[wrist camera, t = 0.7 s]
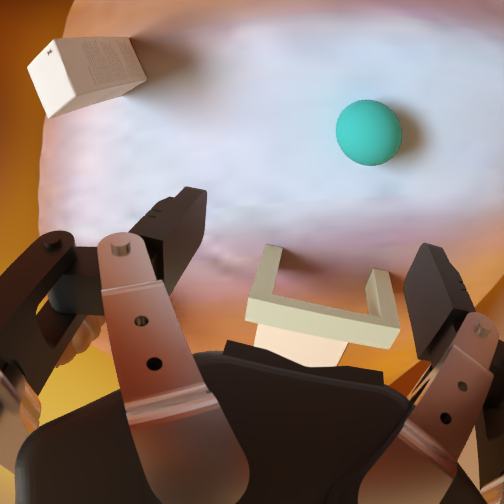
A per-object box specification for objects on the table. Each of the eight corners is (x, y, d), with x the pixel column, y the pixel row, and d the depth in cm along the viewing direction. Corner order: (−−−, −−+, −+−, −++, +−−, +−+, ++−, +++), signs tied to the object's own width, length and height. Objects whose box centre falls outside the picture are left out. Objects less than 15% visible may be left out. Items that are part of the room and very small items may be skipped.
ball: (340, 90, 27) (345, 94, 22) (400, 107, 27) (416, 115, 22) (328, 148, 31) (330, 164, 26) (385, 162, 30) (398, 182, 25)
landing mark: (262, 303, 43) (262, 304, 42) (357, 323, 41) (357, 324, 41) (250, 362, 50) (249, 363, 50) (329, 378, 49) (329, 379, 48)
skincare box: (101, 56, 29) (25, 65, 19) (129, 36, 27) (53, 36, 17) (120, 98, 31) (47, 121, 22) (149, 80, 30) (77, 95, 20)
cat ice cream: (130, 261, 44) (57, 353, 29) (136, 302, 48) (77, 392, 33) (82, 249, 45) (7, 327, 30) (91, 289, 49) (29, 367, 34)
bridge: (265, 244, 38) (248, 297, 30) (388, 271, 36) (400, 329, 28) (261, 264, 39) (244, 320, 31) (379, 290, 38) (388, 349, 30)
